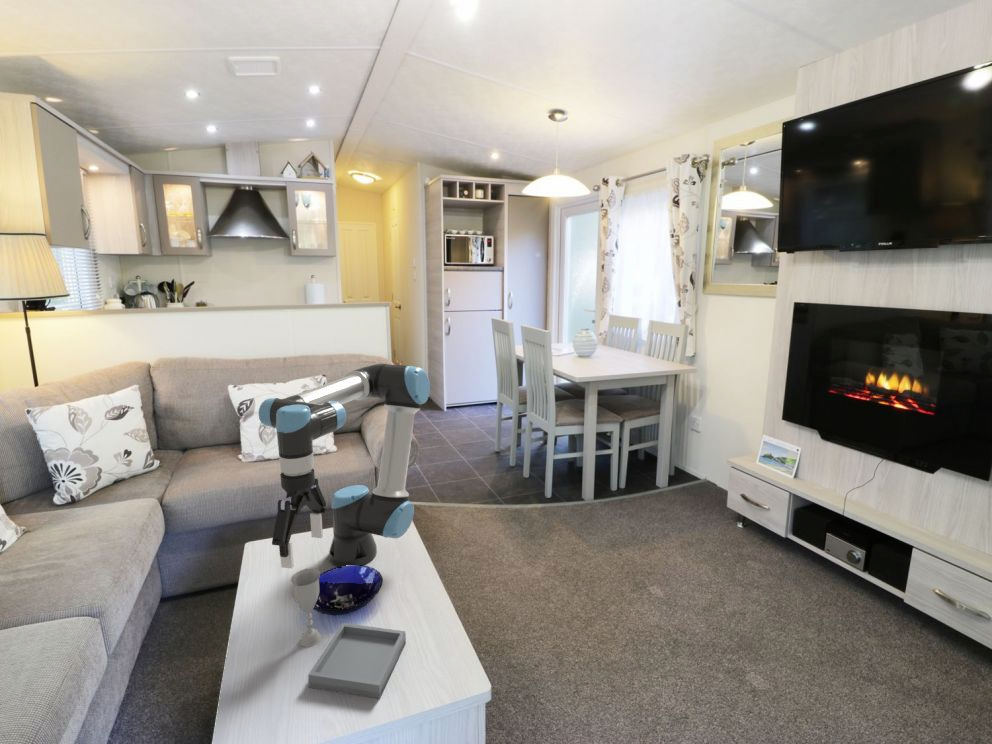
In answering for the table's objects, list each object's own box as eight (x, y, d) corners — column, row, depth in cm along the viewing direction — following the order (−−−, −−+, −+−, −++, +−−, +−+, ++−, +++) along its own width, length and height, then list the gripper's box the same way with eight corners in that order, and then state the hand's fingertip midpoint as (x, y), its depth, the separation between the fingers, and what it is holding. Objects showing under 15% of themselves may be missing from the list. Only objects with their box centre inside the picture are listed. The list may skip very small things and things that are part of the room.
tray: (343, 634, 131) (342, 623, 130) (405, 643, 128) (405, 631, 127) (309, 687, 114) (308, 674, 114) (380, 698, 112) (379, 685, 111)
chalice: (314, 652, 125) (309, 587, 121) (290, 647, 126) (284, 584, 122) (330, 631, 132) (325, 570, 128) (306, 627, 133) (301, 566, 129)
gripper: (310, 450, 132) (315, 524, 136) (249, 491, 108) (257, 579, 112) (336, 452, 131) (340, 527, 135) (281, 494, 107) (288, 583, 111)
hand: (303, 551), depth 124 cm, fingers open, 13 cm apart
